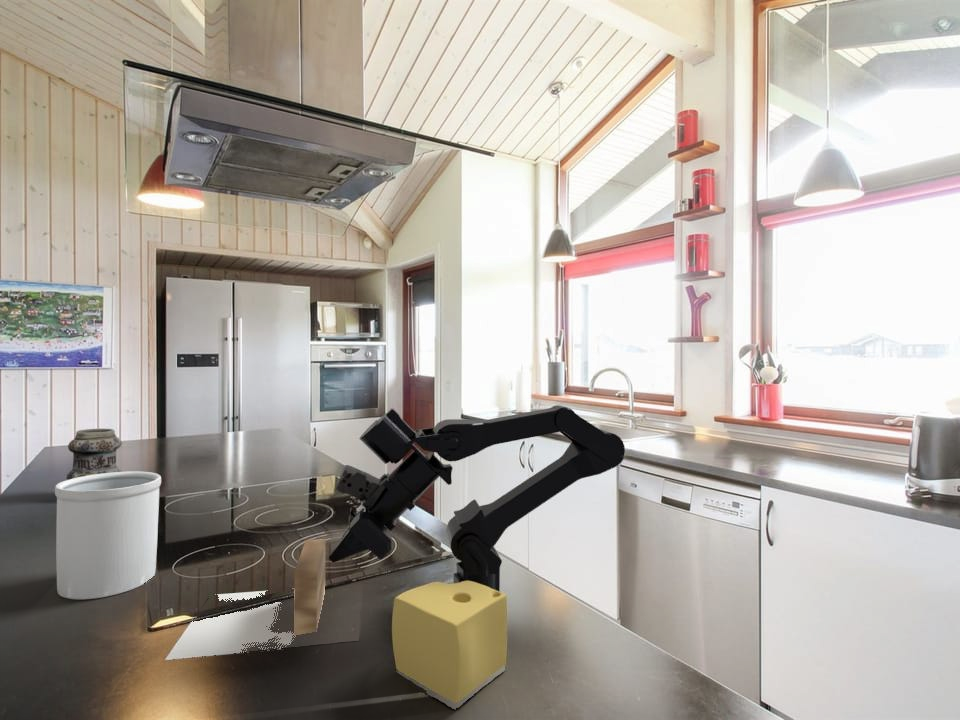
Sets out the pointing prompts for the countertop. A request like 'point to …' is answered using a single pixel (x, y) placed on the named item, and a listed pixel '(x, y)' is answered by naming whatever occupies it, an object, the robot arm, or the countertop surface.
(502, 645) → the cheese
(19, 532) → the countertop surface
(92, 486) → the utensil holder
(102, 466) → the apothecary jar
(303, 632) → the oak board
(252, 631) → the mat
